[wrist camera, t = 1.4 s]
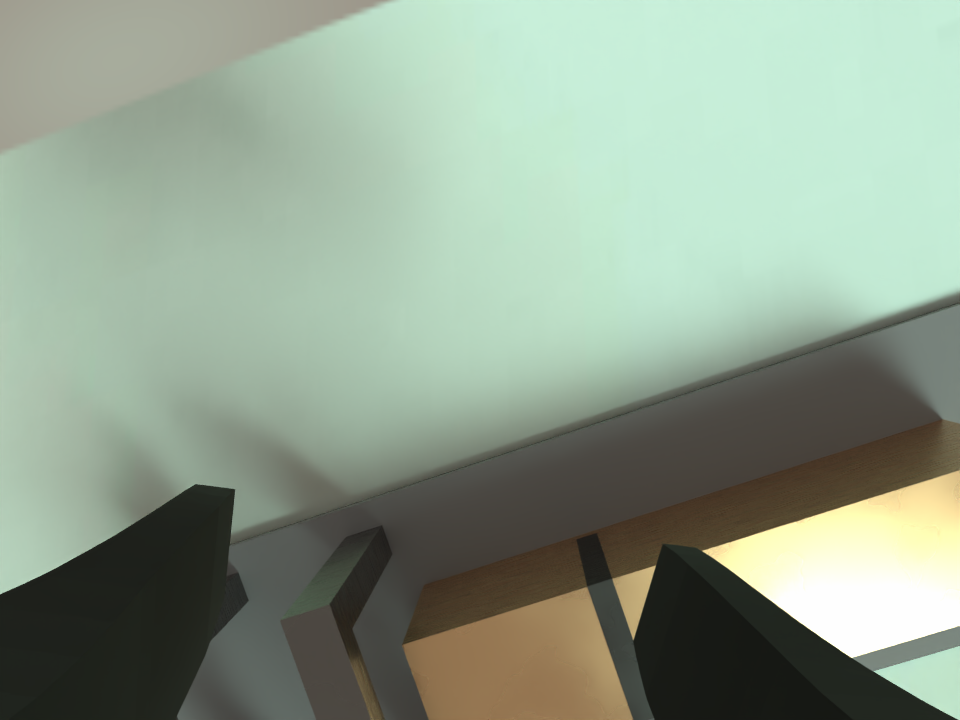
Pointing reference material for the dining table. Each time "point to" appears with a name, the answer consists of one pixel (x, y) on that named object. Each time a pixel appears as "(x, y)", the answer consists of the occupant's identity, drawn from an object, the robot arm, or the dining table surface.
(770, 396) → the mat
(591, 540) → the striped wooden beam
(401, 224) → the dining table surface
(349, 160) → the dining table surface
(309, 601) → the collar
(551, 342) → the dining table surface
